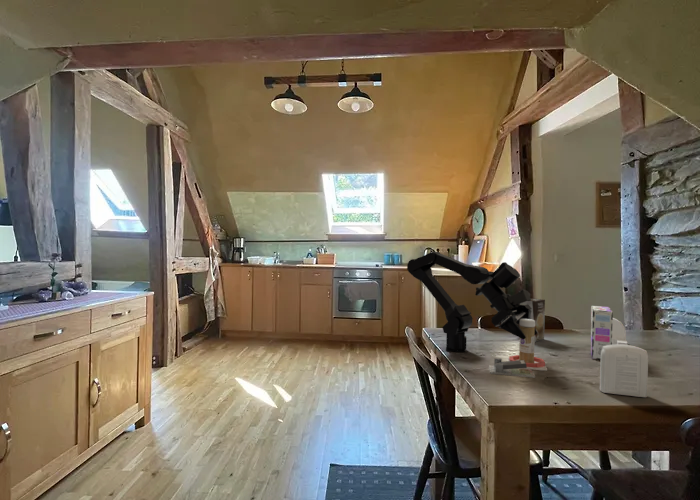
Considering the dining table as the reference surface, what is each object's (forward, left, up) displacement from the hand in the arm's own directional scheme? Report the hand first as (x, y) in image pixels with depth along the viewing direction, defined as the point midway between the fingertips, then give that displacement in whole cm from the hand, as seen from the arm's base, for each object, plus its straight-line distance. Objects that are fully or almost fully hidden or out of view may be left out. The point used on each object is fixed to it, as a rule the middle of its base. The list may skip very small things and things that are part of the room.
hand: (530, 336), depth 126 cm
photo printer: (+19, -20, -9) cm, 29 cm away
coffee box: (+6, +40, -9) cm, 42 cm away
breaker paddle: (-10, -10, -8) cm, 16 cm away
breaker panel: (-6, -10, -9) cm, 15 cm away
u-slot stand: (+33, +39, -10) cm, 52 cm away
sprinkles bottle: (-1, +1, -9) cm, 9 cm away
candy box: (+25, +20, -9) cm, 34 cm away
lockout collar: (-1, 0, -9) cm, 9 cm away
